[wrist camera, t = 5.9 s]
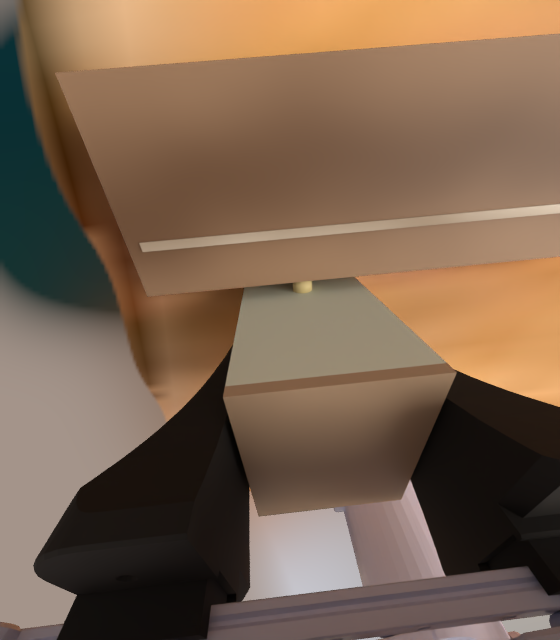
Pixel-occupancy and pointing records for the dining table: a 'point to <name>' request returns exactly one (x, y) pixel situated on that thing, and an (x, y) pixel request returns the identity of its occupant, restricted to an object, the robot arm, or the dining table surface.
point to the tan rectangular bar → (328, 161)
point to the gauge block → (329, 396)
